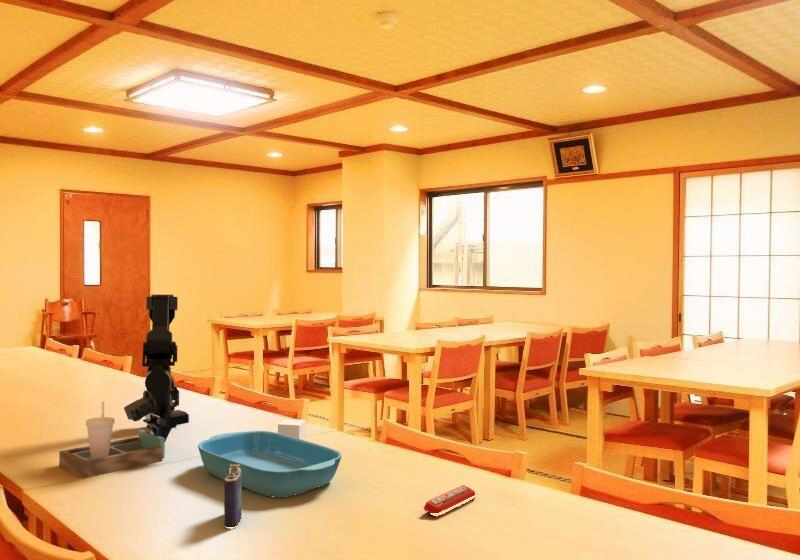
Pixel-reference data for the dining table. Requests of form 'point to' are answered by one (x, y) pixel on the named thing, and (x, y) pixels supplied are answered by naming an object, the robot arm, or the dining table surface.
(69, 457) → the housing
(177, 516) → the dining table surface
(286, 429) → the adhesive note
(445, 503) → the candy bar
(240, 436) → the casserole dish
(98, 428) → the smoothie
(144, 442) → the tray
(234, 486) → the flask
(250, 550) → the dining table surface
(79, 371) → the dining table surface
